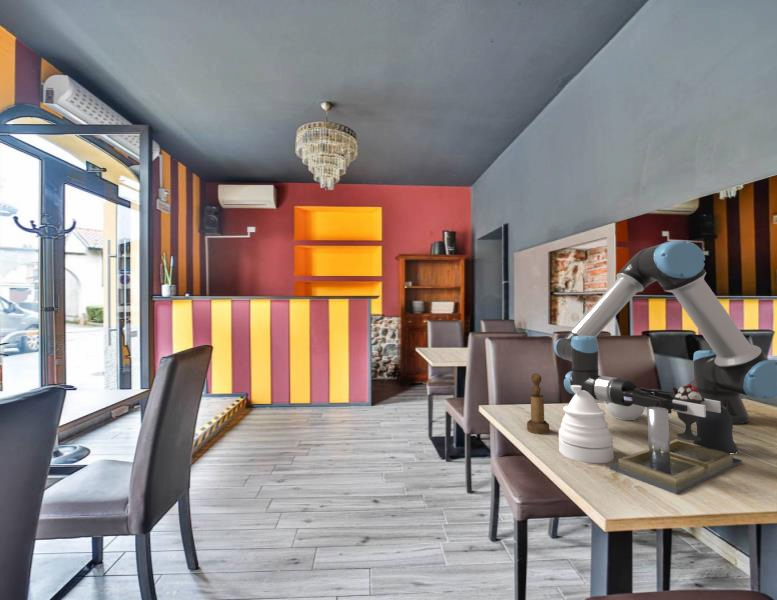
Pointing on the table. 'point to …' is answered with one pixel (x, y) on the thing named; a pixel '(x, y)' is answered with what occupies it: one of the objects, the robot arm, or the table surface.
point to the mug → (716, 431)
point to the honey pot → (585, 430)
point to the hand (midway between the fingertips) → (712, 409)
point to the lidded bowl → (625, 411)
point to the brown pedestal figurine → (537, 409)
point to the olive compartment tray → (672, 458)
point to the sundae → (685, 395)
